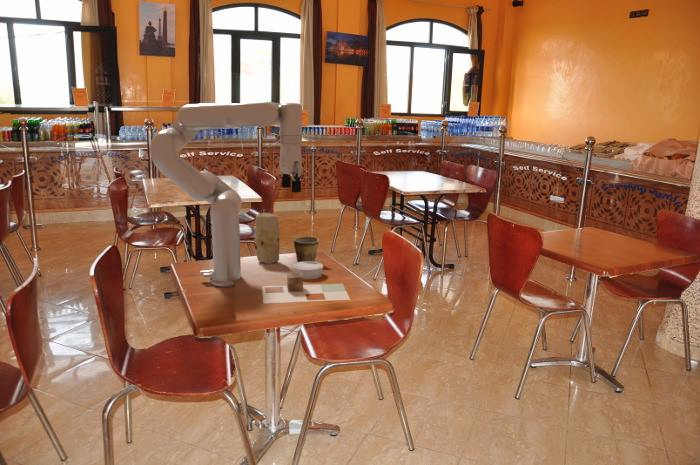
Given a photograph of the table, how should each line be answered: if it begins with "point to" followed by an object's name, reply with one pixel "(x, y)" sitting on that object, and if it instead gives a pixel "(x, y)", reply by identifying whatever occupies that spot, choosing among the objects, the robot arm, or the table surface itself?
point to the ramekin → (308, 269)
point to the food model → (267, 237)
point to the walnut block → (295, 282)
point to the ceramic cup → (306, 248)
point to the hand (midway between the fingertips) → (291, 189)
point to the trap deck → (329, 291)
